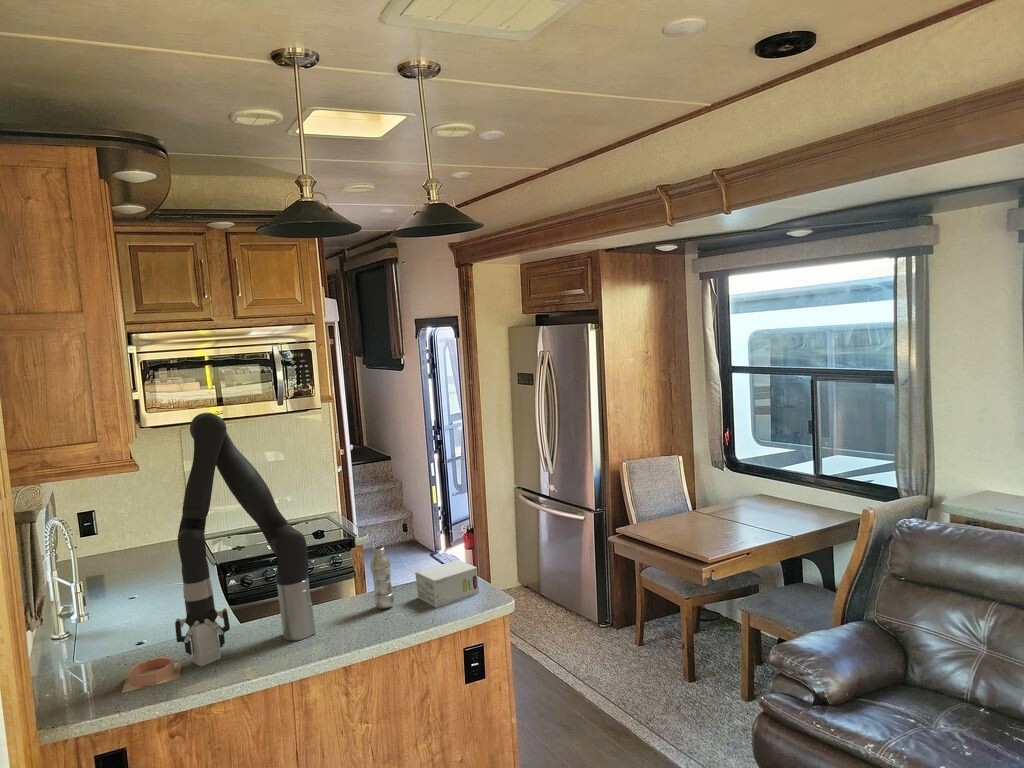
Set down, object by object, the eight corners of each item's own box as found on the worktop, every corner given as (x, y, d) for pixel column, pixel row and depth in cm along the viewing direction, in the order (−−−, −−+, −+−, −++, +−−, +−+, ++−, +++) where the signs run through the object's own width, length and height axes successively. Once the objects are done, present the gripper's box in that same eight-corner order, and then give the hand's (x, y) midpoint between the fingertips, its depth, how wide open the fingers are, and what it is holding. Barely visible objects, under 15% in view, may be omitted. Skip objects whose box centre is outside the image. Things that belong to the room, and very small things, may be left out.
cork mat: (181, 662, 206) (181, 661, 206) (179, 679, 194) (179, 678, 194) (127, 675, 200) (127, 674, 200) (121, 694, 189) (121, 692, 189)
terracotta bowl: (175, 663, 204) (174, 653, 204) (173, 679, 194) (171, 668, 194) (133, 673, 200) (131, 663, 200) (128, 690, 190) (126, 679, 190)
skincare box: (213, 656, 208) (208, 616, 207) (221, 659, 205) (215, 619, 205) (193, 664, 203) (188, 624, 203) (200, 668, 201) (195, 627, 200)
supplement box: (436, 608, 228) (433, 580, 228) (417, 598, 239) (414, 571, 239) (480, 593, 238) (477, 566, 237) (460, 584, 249) (457, 558, 248)
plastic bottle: (397, 608, 232) (390, 548, 231) (376, 612, 229) (369, 552, 228) (393, 601, 238) (386, 543, 237) (373, 606, 235) (366, 547, 234)
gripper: (225, 585, 209) (232, 639, 210) (172, 596, 204) (179, 651, 205) (225, 593, 202) (232, 648, 203) (170, 604, 197) (177, 661, 198)
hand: (205, 650), depth 204 cm, fingers open, 8 cm apart
